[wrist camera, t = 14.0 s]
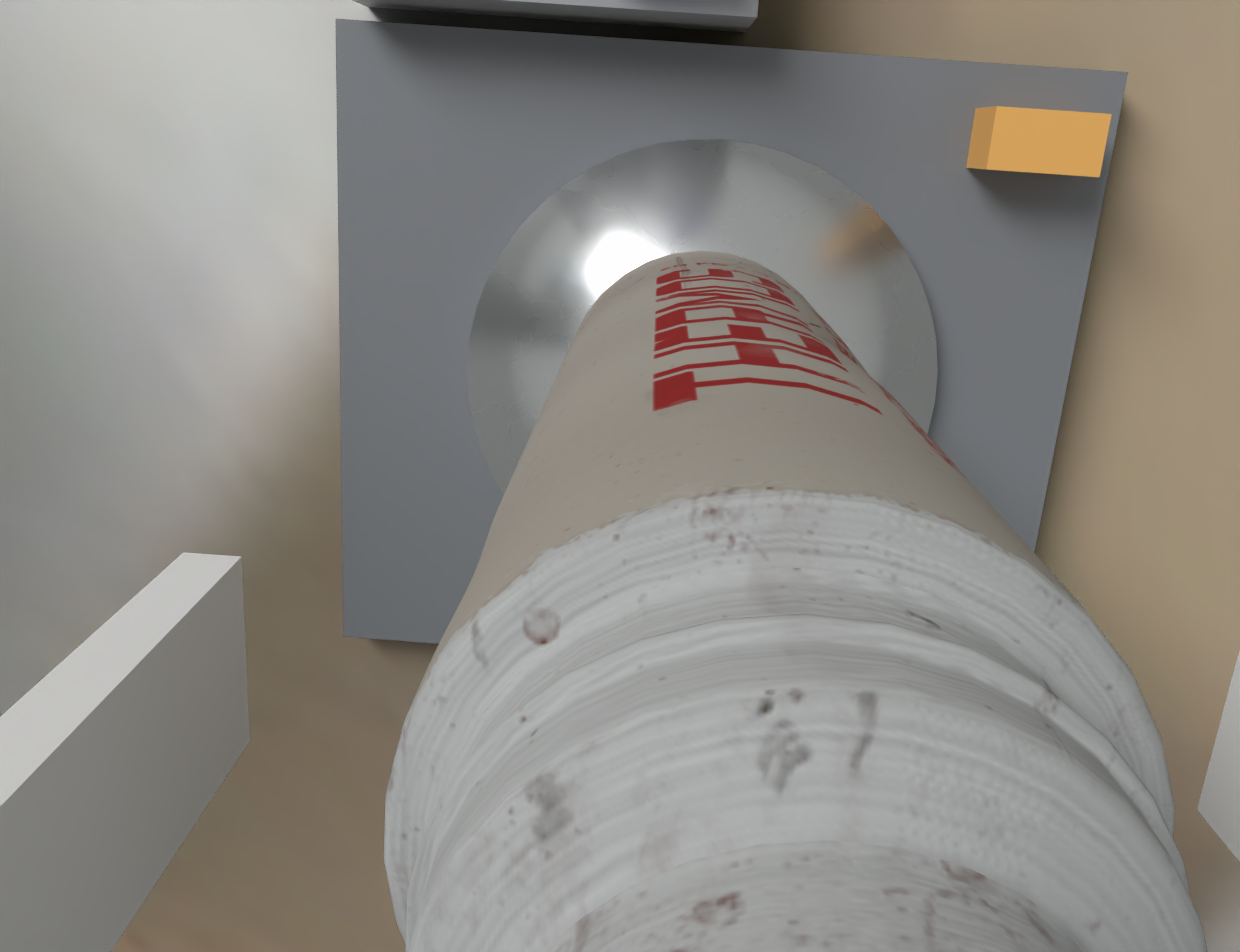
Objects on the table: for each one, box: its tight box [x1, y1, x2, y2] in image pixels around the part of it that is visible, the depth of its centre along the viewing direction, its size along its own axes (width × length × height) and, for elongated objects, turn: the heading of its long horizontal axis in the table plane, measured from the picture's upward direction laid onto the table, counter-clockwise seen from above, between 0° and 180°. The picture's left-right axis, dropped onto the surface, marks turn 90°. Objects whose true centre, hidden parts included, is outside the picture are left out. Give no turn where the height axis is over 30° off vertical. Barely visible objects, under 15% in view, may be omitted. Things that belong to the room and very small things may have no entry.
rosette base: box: [336, 19, 1128, 644], centre depth 32 cm, size 22×19×4 cm
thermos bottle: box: [384, 251, 1207, 952], centre depth 19 cm, size 8×8×28 cm
